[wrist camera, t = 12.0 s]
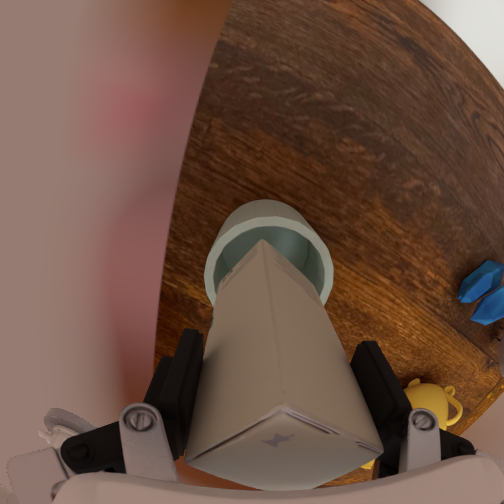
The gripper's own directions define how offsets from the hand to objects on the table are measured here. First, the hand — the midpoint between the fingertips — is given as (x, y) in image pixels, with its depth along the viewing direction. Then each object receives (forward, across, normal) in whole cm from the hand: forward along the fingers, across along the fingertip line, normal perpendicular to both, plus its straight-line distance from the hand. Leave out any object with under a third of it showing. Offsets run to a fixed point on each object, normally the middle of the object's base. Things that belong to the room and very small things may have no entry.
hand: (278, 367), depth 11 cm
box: (+8, 0, 0) cm, 8 cm away
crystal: (+17, -29, +1) cm, 34 cm away
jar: (+16, 0, 0) cm, 16 cm away
